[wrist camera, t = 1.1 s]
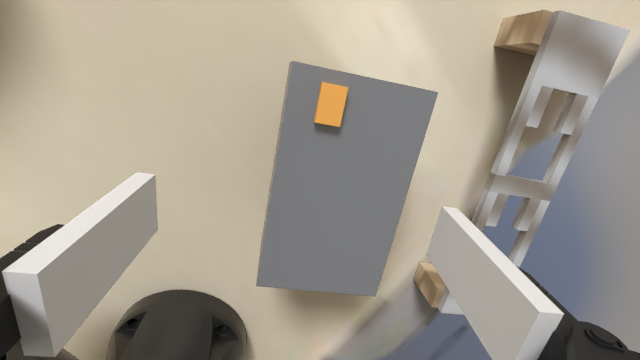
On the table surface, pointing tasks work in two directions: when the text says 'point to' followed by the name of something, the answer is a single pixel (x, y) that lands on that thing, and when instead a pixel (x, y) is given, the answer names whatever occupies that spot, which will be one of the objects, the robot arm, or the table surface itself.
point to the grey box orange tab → (339, 179)
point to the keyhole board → (538, 121)
